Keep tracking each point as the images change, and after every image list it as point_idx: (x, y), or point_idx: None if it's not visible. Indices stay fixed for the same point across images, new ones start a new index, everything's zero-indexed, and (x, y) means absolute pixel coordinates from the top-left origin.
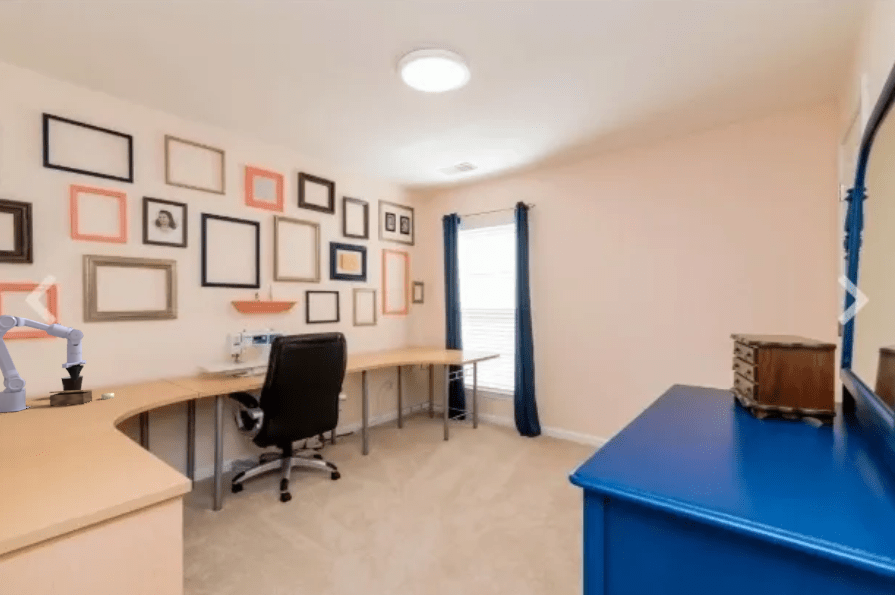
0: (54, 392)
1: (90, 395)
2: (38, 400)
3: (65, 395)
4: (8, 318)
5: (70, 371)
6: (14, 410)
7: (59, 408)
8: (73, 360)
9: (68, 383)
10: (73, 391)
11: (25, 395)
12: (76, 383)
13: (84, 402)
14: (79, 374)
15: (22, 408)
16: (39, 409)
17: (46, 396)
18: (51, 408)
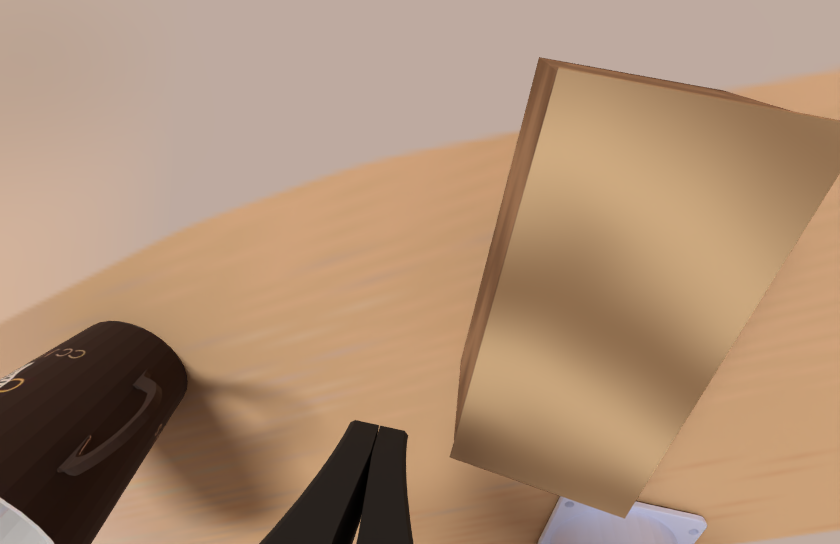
0: (643, 473)
1: (587, 70)
2: (277, 504)
3: None
4: None
5: None
6: (694, 537)
7: (818, 275)
8: None
9: (106, 484)
10: (763, 282)
11: None
12: (62, 425)
13: (710, 88)
14: (299, 503)
15: (647, 516)
16: (717, 416)
17: (140, 499)
18: (745, 344)
